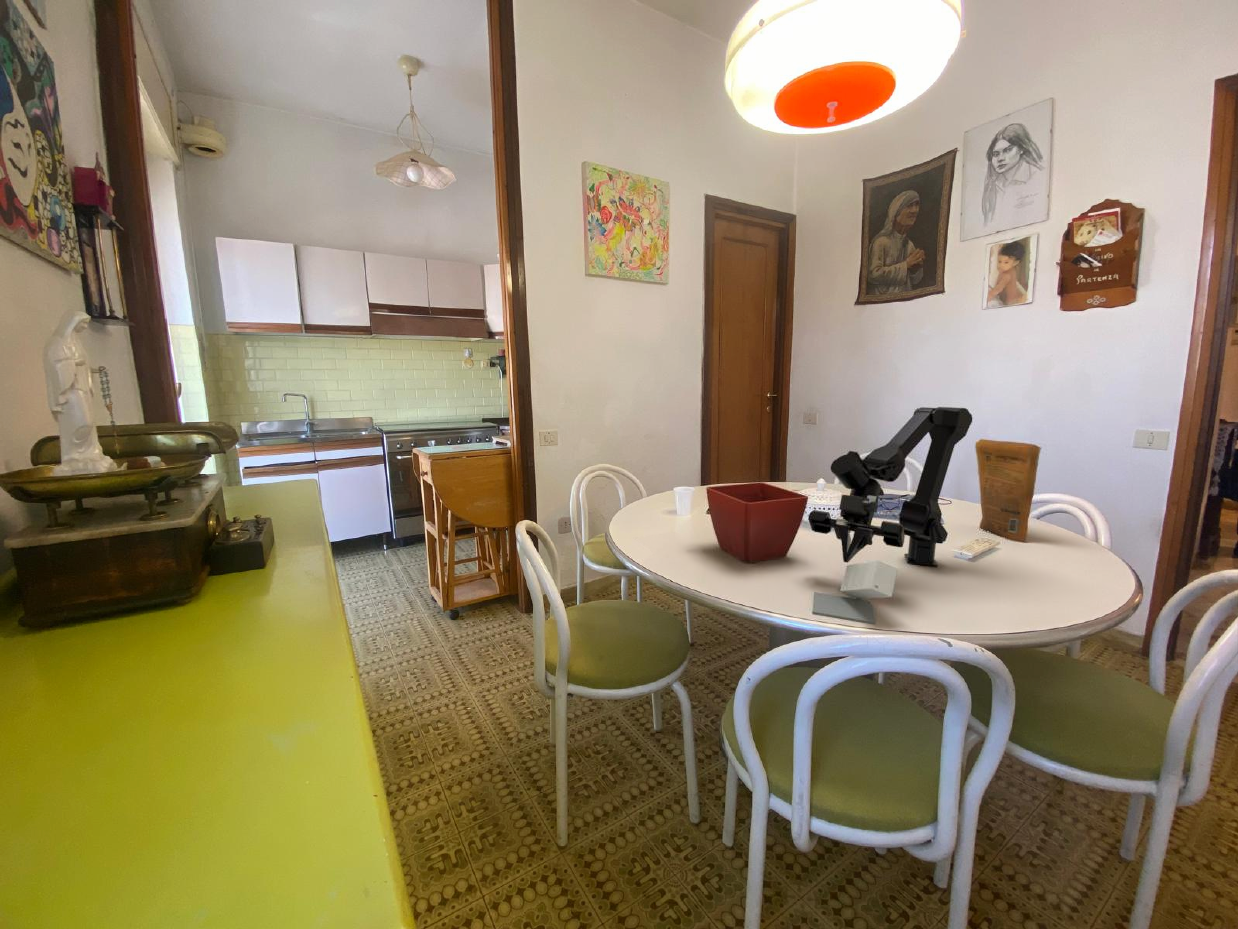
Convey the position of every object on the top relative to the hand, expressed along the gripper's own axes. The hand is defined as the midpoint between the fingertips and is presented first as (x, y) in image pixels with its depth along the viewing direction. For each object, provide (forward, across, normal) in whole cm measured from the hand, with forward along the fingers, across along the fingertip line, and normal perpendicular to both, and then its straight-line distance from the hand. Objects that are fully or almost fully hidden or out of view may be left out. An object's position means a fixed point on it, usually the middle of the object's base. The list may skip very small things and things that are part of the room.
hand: (845, 561), depth 104 cm
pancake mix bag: (-46, +25, +56) cm, 77 cm away
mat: (+10, +2, 0) cm, 10 cm away
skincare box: (+3, +2, +3) cm, 5 cm away
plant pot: (-3, -26, +14) cm, 30 cm away
